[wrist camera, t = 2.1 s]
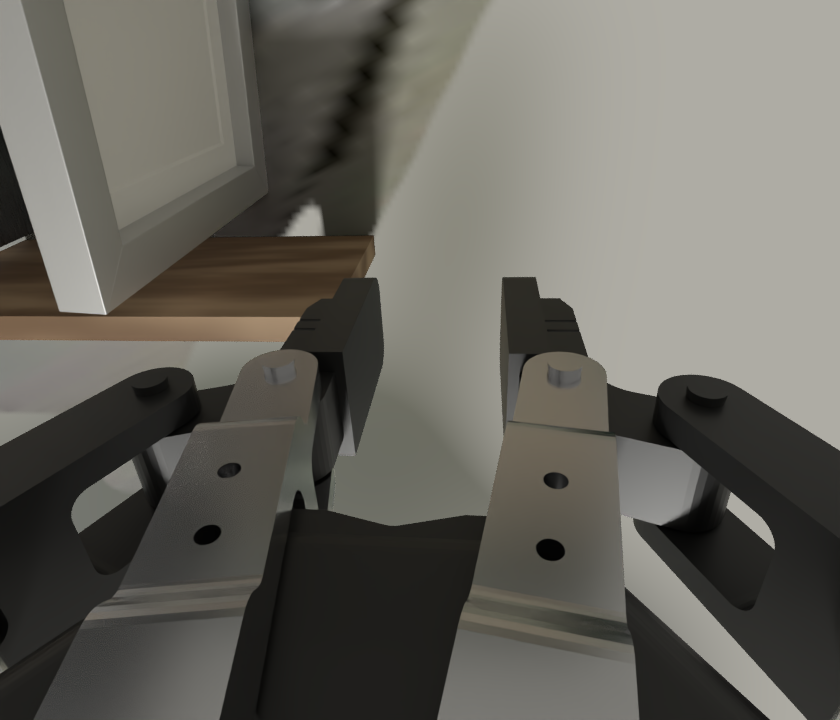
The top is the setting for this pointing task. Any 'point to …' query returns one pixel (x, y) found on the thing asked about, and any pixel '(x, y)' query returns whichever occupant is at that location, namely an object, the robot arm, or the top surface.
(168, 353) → the top surface
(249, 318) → the shelf back
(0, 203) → the bookend
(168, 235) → the picture frame
